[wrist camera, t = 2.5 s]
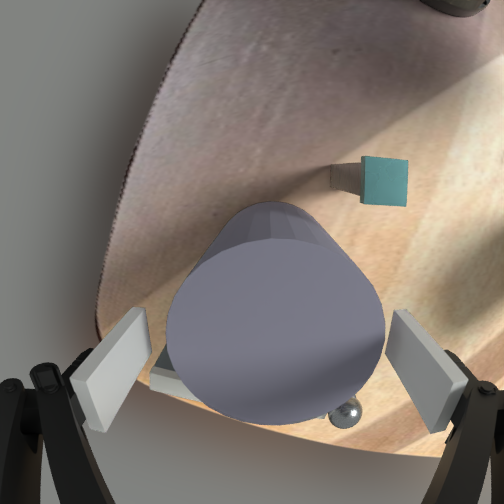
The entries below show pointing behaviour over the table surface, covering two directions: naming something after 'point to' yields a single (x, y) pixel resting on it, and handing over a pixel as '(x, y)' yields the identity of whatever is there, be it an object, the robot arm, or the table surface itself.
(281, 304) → the container
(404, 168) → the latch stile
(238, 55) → the table surface
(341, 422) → the hinge post
